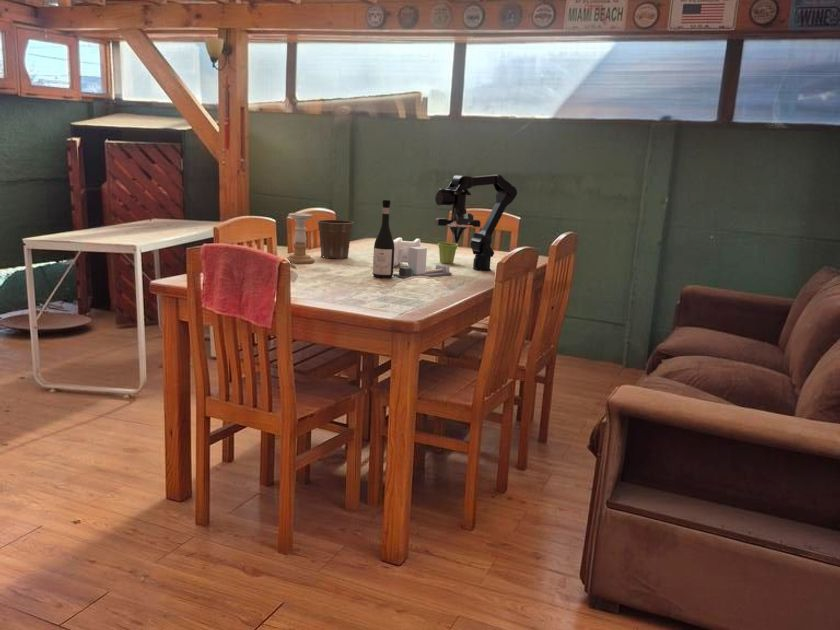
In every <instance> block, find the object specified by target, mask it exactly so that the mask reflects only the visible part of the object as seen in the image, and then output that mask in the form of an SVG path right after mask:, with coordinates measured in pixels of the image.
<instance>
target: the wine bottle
mask: <svg viewBox="0 0 840 630" xmlns="http://www.w3.org/2000/svg"><path fill="white" fill-rule="evenodd" d="M381 203H382V217H381V225H380V229H379V232H378V234H377V235H376V238H375V241H374V245H373V256H372V257H373V258H372V259H373V260H372V275H373V277H375V278H379V279H390V278H392V277H394V276H393V274H394V267H395V266H394V238H393V235H392V233H391V229H390V206H391V200H390V199H382V202H381Z"/></svg>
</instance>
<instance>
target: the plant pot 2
mask: <svg viewBox="0 0 840 630" xmlns="http://www.w3.org/2000/svg"><path fill="white" fill-rule="evenodd" d="M437 246H438V253H439V262H440V263H441V264H450V265H452V264H454V261H455V255H456V252H457V251H456V250H457V249H458V246H459V244H458V243H455V242H438V243H437Z"/></svg>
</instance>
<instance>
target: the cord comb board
mask: <svg viewBox="0 0 840 630" xmlns="http://www.w3.org/2000/svg"><path fill="white" fill-rule="evenodd" d="M452 273H453V272H450V266H447V265H443V264H436V265H435V268H434V269H426V271H425V274H419V275H415V274H414V271H413V269H411V268H408V266H400V267H398V273H393V276H392V277H395V276H396V278H400V279H402V280H406V279H410V278H413V277H427V278H434V277H433V276H435V277H443V275H445V276H452Z"/></svg>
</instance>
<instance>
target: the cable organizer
mask: <svg viewBox="0 0 840 630" xmlns="http://www.w3.org/2000/svg"><path fill="white" fill-rule="evenodd" d="M393 241H394V267H395V266H396V267H397V266H398V265H399V264H403V263H406V264H408V261H409V247H421V243H422V242H421V238H415V239H414V240H412V241H403V238H402V237H397V238H395V239H393Z"/></svg>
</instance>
